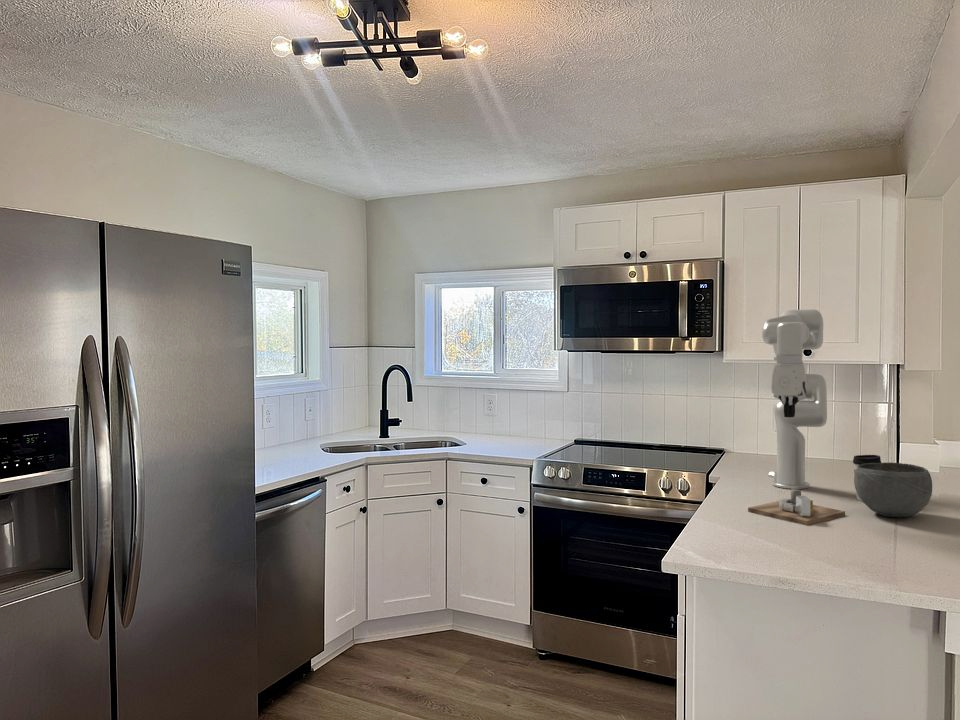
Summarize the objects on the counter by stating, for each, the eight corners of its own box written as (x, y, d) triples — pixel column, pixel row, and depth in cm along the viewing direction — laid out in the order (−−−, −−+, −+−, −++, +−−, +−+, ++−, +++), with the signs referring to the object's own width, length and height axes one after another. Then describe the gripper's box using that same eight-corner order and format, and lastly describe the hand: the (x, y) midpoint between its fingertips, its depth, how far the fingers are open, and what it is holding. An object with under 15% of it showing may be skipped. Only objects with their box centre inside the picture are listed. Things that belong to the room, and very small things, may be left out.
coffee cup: (885, 503, 232) (885, 458, 232) (857, 502, 234) (857, 457, 233) (876, 497, 240) (876, 453, 240) (849, 496, 242) (849, 453, 242)
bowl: (922, 509, 224) (922, 462, 223) (941, 526, 204) (942, 474, 204) (848, 505, 231) (849, 459, 230) (860, 521, 211) (860, 471, 210)
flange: (789, 515, 212) (789, 499, 212) (776, 504, 226) (776, 489, 226) (822, 516, 211) (822, 499, 210) (806, 505, 225) (806, 489, 224)
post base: (747, 511, 224) (747, 488, 223) (786, 502, 234) (786, 481, 234) (806, 525, 207) (806, 500, 207) (845, 515, 218) (845, 492, 217)
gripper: (762, 360, 233) (761, 415, 234) (803, 361, 221) (803, 419, 221) (776, 359, 237) (775, 414, 238) (818, 360, 225) (817, 418, 225)
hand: (789, 416), depth 229 cm, fingers closed
